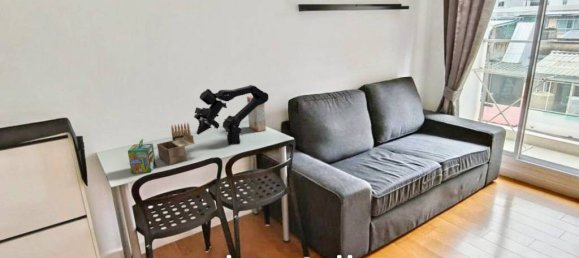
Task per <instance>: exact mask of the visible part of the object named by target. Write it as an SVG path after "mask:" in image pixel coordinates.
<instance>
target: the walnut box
mask: <svg viewBox="0 0 579 258" xmlns="http://www.w3.org/2000/svg"><path fill="white" fill-rule="evenodd" d="M172 141H175V140H172V139H171V140H169V141H165V142H160V143H156V145H157V153H158V158H159V160H160V161H161V162H164V164H166V165H168V166H169V167H170V166H173V165H176V164H181V163H183V162H187V154H186V146H184V145H183V146H179V147H178V146H176V145H175V144H173V143H172Z"/></svg>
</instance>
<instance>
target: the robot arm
mask: <svg viewBox="0 0 579 258" xmlns="http://www.w3.org/2000/svg"><path fill="white" fill-rule="evenodd" d="M248 94H251V96H253V98H252V100H251V101H250V102H249V103H247V104H246V105H245V106H244V107H242V109H240V110H239V111H238V112H237V113H236V114H235V115H231V114H230V115H228V116H227V117H226V118H224V119H223V122H222V128H223V129H224V130H225V132H227V134H226V138H227V139H226V140H227V143H228V145H238V144H239V145H240V144H241V137H240V134H241V133H242V128H241V127H239V126H240V125H241V122H242V121H243V120H244V119H245V118H246V117H248V114H249V113H251V112H252V111H253V110H254V109H255V108H256V107H257V106H259V105H262V104H264V105H265V103H267V102H268V101H269V94H268V93H267V92H265V91H263V90H261V89H260V88H258V87H257V86H256V85H252V84H249V85H246V86H242V87H238V88H235V89H234V88H233V89H220V90H218V92H212V90H210V88H206V90H203V92H202V93H200V95H199V99H200V100H201V101H202V102H203V103H204V104H206V105H207V106H209V107H202V108H200V107H197V106H196V107H195V110H194V116H193V118H194V119H196V120H197V121H198V127H197V130H196V132H195V133H196V134H197V135H200V134H202V133H204V132H206V131H208V130H209V129H212V126H213V127H214V129H216V130H218V129H219V128H220V123H219V122H218V121H216V120H215V119H216V118H217V117H219V114H220V113H221V110H222V109H223V108H224V109H227V108H228V106H227V102H229V101H231V100H234V99H235V98H237V97H240V96H245V95H248Z"/></svg>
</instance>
